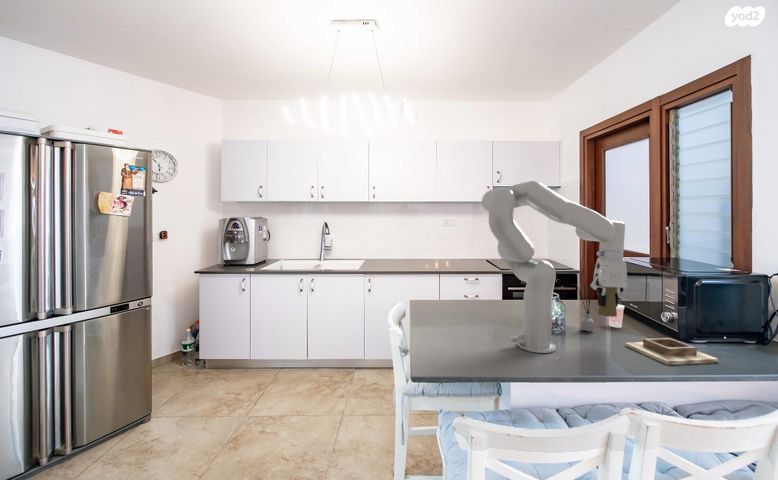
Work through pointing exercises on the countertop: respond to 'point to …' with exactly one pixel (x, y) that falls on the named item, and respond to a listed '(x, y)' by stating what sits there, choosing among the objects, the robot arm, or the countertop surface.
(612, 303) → the cork
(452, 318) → the countertop surface
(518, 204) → the robot arm
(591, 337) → the countertop surface
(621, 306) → the beverage cup
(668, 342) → the socket board
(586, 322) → the reed diffuser
